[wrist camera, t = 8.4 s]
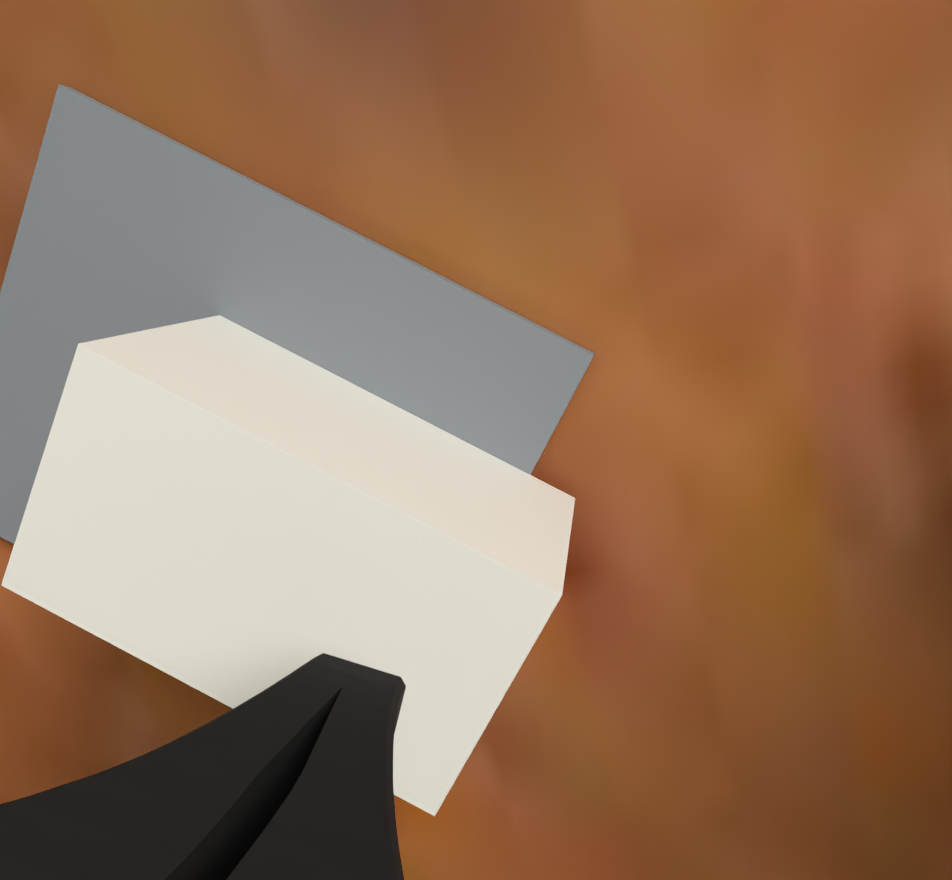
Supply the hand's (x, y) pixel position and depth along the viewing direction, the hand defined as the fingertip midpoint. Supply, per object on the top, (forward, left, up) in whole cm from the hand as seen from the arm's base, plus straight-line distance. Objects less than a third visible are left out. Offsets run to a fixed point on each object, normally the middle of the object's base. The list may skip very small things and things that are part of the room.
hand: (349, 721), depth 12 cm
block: (-2, 0, -4) cm, 5 cm away
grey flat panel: (+5, 0, -7) cm, 9 cm away
